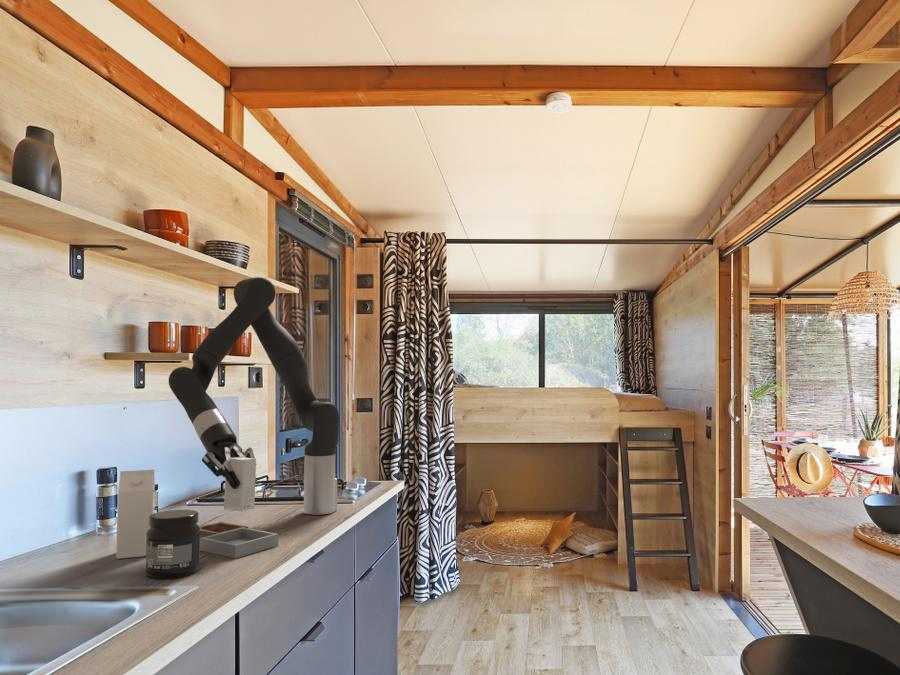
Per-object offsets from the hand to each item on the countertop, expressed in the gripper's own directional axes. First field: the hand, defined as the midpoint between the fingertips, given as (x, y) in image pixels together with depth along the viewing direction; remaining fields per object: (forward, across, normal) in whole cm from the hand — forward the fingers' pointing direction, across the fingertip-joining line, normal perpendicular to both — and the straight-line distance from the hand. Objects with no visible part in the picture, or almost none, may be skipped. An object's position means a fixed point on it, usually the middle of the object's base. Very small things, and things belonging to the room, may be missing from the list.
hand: (245, 485), depth 150 cm
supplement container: (+12, -20, +10) cm, 25 cm away
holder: (+1, +4, +21) cm, 21 cm away
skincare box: (+3, 0, +6) cm, 6 cm away
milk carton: (-2, -16, +24) cm, 29 cm away
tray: (+9, 0, +12) cm, 15 cm away
